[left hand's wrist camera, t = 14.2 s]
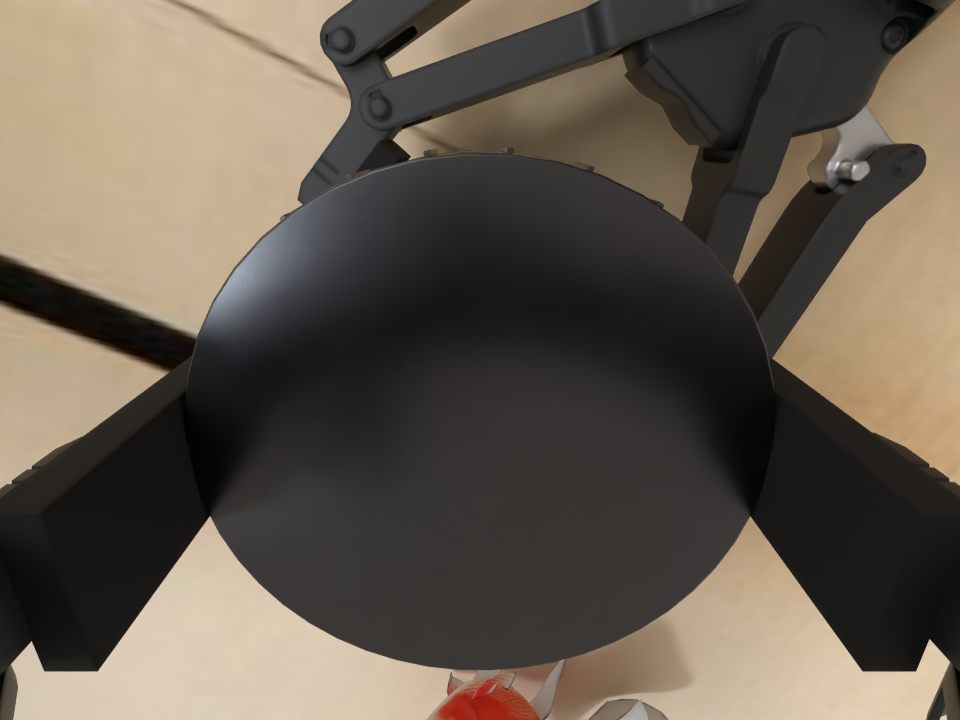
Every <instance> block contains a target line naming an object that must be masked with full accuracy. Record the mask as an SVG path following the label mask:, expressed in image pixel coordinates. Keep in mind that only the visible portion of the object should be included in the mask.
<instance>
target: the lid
mask: <svg viewBox="0 0 960 720" xmlns="http://www.w3.org/2000/svg"><path fill="white" fill-rule="evenodd" d="M593 170H594V167H592V166H590V165H585V164H581V163H576V162H572V165H568V164H565V163H562V162H559V161H555V160H550V159H546V158H541V157H535V156H529V155H523V154H517V153H514V148H510V147H503V151H460V152H452V153H443V154H438V150H437V149H435V150H428V151H424V157H420V158H416V159H412V160H408V161H405V162H401V163H397V164H393V165H389V166H386V167H382V168H378V169H374V170H371V171H370V169H368V170H364V171H360V172H355V173H351V174H349V175H346V176H345V177H346V179H347V181H345V182H343V183H341V184H338V185H336V186H334V187H331V188H330V189H328V190H326V191H325V192H323V193H321V194H320V195H318V196H316V197H315V198H313V199H312V200H310V201H308V202H307V203H305V204H303V205H302V206H300V207H298V208H297V209H295V210H294V211H292V212H291V213H288V214H285V215H283V216H282V217H281V218H280V220H281V221H280V222H279V223H278V224H277V225H276V226H274V227H273V228H272V229H271V230H270V231H268V232H267V233H266V234H265V235H263V236H262V237H261V238H260V239H259V240H258V242H257V243H256V244H255V245H254V246H253V247H252V248H251V249H250V251H249V252H248V253H247V254H246V255H245V256H244V257H243V259H242V260H241V261H240V262H239V263H238V264H237V265H236V266H235V268H234V269H233V271H232V272H231V274H230V275H229V277H228V278H227V280H226V281H225V283H224V285H223V286H222V288H221V289H220V291H219V292H218V294H217V295H216V297H215V299H214V300H213V302H212V304H211V307H210V309H209V311H208V313H207V316H206V318H205V320H204V322H203V325H202V327H201V329H200V332H199V334H198V337H197V340H196V344H195V348H194V352H193V356H192V359H191V363H190V367H189V371H188V381H187V390H186V400H185V419H186V438H187V444H188V449H189V453H190V458H191V462H192V467H193V471H194V475H195V479H196V483H197V485H198V488H199V491H200V494H201V497H202V499H203V502H204V505H205V507H206V509H207V511H208V513H209V514H210V516H211V518H212V520H213V522H214V524H215V526H216V528H217V530H218V532H219V534H220V535H221V536H222V538H223V539H224V541H225V542H226V544H227V545H228V546H229V548H230V549H231V551H232V552H233V554H234V555H235V557H236V558H237V559H238V561H239V562H240V563H241V564H242V565H243V566H244V567H245V568H246V570H247V571H248V572H249V573H250V574H251V575H252V576H253V577H254V578H255V580H256V581H257V582H258V583H259V584H260V585H261V586H262V587H264V588H265V589H266V590H267V591H268V592H269V593H270V594H272V595H273V596H274V597H275V598H276V599H277V600H278V601H280V602H281V603H282V604H283V605H284V606H286V607H287V608H289V609H290V610H291V611H293V612H294V613H296V614H297V615H299V616H300V617H301V618H303V619H304V620H306V621H307V622H309V623H310V624H312V625H314V626H316V627H318V628H319V629H321V630H323V631H325V632H327V633H328V634H330V635H332V636H334V637H336V638H338V639H340V640H342V641H345V642H347V643H349V644H352V645H354V646H357V647H359V648H361V649H364V650H366V651H369V652H372V653H375V654H379V655H382V656H385V657H388V658H392V659H395V660H399V661H404V662H408V663H413V664H418V665H423V666H428V667H437V668H446V669H455V670H502V669H515V668H525V667H530V666H536V665H542V664H548V663H553V662H557V661H561V660H564V659H568V658H571V657H575V656H579V655H582V654H585V653H588V652H591V651H593V650H596V649H598V648H601V647H604V646H606V645H609V644H611V643H614V642H616V641H618V640H620V639H622V638H624V637H626V636H628V635H630V634H632V633H634V632H636V631H638V630H639V629H641V628H643V627H645V626H646V625H648V624H649V623H651V622H652V621H654V620H655V619H657V618H659V617H660V616H662V615H663V614H665V613H666V612H668V611H669V610H670V609H672V608H673V607H674V606H675V605H677V604H678V603H679V602H680V601H681V600H683V599H684V598H685V597H686V596H688V595H689V594H690V593H691V592H693V591H694V590H695V589H696V588H697V587H698V585H699V584H700V583H701V582H702V581H703V580H704V579H705V578H706V577H707V576H708V575H709V574H710V573H711V572H712V571H713V570H714V569H715V568H716V567H717V565H718V564H719V563H720V561H721V560H722V559H723V558H724V556H725V555H726V554H727V552H728V551H729V550H730V548H731V547H732V546H733V544H734V543H735V542H736V540H737V538H738V536H739V535H740V533H741V531H742V529H743V528H744V526H745V524H746V523H747V521H748V519H749V517H750V516H751V514H752V511H753V509H754V506H755V504H756V502H757V499H758V497H759V494H760V492H761V489H762V487H763V484H764V480H765V476H766V471H767V467H768V463H769V459H770V454H771V450H772V445H773V436H774V426H775V401H774V382H773V377H772V373H771V368H770V363H769V358H768V353H767V348H766V345H765V343H764V340H763V337H762V335H761V332H760V329H759V327H758V324H757V321H756V319H755V316H754V313H753V311H752V310H751V308H750V306H749V304H748V303H747V301H746V299H745V297H744V296H743V294H742V292H741V290H740V288H739V287H738V285H737V283H736V281H735V280H734V278H733V277H732V276H731V274H730V273H729V272H728V271H727V269H726V268H725V267H724V266H723V264H722V263H721V262H720V261H719V259H718V258H717V256H716V255H715V253H713V252H712V251H711V249H710V248H709V247H708V246H707V245H706V244H705V243H704V242H703V241H701V240H700V239H699V238H698V237H697V236H696V235H695V234H694V233H693V232H692V231H691V230H690V229H688V228H687V227H686V226H685V225H684V224H683V223H682V222H681V221H680V220H679V219H677V218H676V217H675V216H673V215H672V214H670V213H669V212H667V211H666V210H664V209H663V207H664V205H663V204H662V203H660V202H658V201H655V200H652V199H649V198H646V197H645V196H644V195H642V194H640V193H638V192H636V191H634V190H632V189H630V188H627V187H625V186H623V185H621V184H619V183H617V182H615V181H613V180H611V179H609V178H607V177H605V176H603V175H600V174H597V173H594V172H593Z"/></svg>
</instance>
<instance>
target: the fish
mask: <svg viewBox="0 0 960 720" xmlns="http://www.w3.org/2000/svg"><path fill="white" fill-rule="evenodd" d="M564 663H565V659H564V660H561V661H560V662H559V663H558V664H557V666H556V667H555V668H554V670H553V671H552V672H551V673H550V675H549V676H548V678H547V679H546V681H545V683H544V684H543V686H542V688H541V690H540V691H539V693H538V695H537V696H536V698H535V699H534V700H533V701H532V702H530V703H529V702H528V701H527V700H526V699H525V698H524V697H523V696H522V695H521V694H520V693H519V692H518V691H516V690H515V689H514V688H512V687H511V685H512V683H513V680H514V678H515V675H516V673H515V672H513V673H507V674H501V672H502V670H478V672H477V675H476V677H475V678H474V680H473V681H470V682H467V683H463V682H461V681H460V680H458V679H456V678H454V677H452V672H451V674H450V679H449V683H448V688H447V694H448V697H447V698H446V699H445V700H444V701H443V702H442V703H441V704H440V705H439V706H438V707H437V708H436V709H435V710H434V711H433V713H432V714H431V715H430V716H429V717H428V719H427V720H545V719H546V718H547V717H548V715H549V714H550V712H551V710H552V706H553V703H554V699H555V695H556V691H557V687H558V683H559V679H560V676H561V673H562V669H563V666H564ZM500 674H501V675H500ZM589 720H668V719H667V718H666V716H665V715H664V714H663V713H662V712H660V711H659V710H657V709H655V708H654V707H652V706H650V705H648V704H646V703H644V702H642V701H641V699H640V700H635V699H620V700H614V701H607V702H606V703H605V704H604V705H603V706H602V707H601V708H600V709H599V710H598V711H597V712H596V713H595V714H594V715H593V716H592V717H591V718H590V719H589Z"/></svg>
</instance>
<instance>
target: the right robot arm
mask: <svg viewBox="0 0 960 720" xmlns="http://www.w3.org/2000/svg"><path fill="white" fill-rule="evenodd" d="M469 1H471V0H353V1H351V2H350V3H349V4H347V5H346V6H345V7H343V8H342V9H341V10H339V11H338V12H337V13H335V14H334V15H333V16H331V17H330V18H329V19H328V20H327V21H326V22H325V23H324V24H323V26H322V29H321V33H320V44H321V47H322V49H323V51H324V53H325V55H326V56H327V57H328V58H329V59H330V60H331V61H332V62H333V64H334V66H335V67H336V69H337V71H338V73H339V74H340V76H341V78H342V80H343V81H344V83H345V85H346V87H347V89H348V91H349V94H350V98H351V110H350V114H349V116H348V118H347V120H346V122H345V123H344V124H343V126H342V127H341V129H340V130H339V131H338V133H337V134H336V135H335V137H334V138H333V140H332V141H331V142H330V144H329V145H328V146H327V148H326V149H325V151H324V152H323V153H322V155H321V157H320V158H319V159H318V160H317V162H316V163H315V164H314V166H313V168H312V169H311V170H310V171H309V173H308V174H307V176H306V177H305V178H304V180H303V181H302V182H301V186H300V191H299V195H298V201H300V202H301V203H302V204H305V203H307V202H308V201H310V200H312V199H313V198H315V197H316V196H318V195H320V194H321V193H323V192H325V191H326V190H328V189H330V188H331V187H334V186H336V185H338V184H341V183H343V182H345V181H347V179H346V177H345V176H346V175H349V174H351V173H355V172H360V171H364V170H368V169H370V171H371V170H374V169H378V168H382V167H386V166H389V165H393V164H397V163H401V162H405V161H408V160H409V158H410V157H411V156H410V155H409V154H408V153H406V152H405V151H404V150H403V149H402V148H401V147H400V146H399V145H398V144H396V143H395V142H394V141H392V140H393V139H394V137H395V136H396V135H397V134H398V132H401V130H403V129H406V128H409V127H411V126H414V125H417V124H420V123H423V122H426V121H429V120H432V119H434V118H437V117H440V116H443V115H446V114H449V113H452V112H454V111H457V110H460V109H463V108H466V107H469V106H472V105H475V104H477V103H480V102H483V101H486V100H489V99H492V98H495V97H497V96H500V95H503V94H506V93H509V92H512V91H515V90H518V89H520V88H523V87H526V86H529V85H532V84H535V83H538V82H541V81H543V80H546V79H549V78H552V77H555V76H558V75H561V74H563V73H566V72H569V71H572V70H575V69H578V68H582V67H586V66H589V65H592V64H595V63H598V62H601V61H604V60H607V59H610V58H612V57H615V56H618V55H621V54H623V59H624V63H625V66H626V68H627V70H628V72H627V73H626V74H625V75H624V76H625V77H626V78H627V79H628V80H629V81H630V82H631V83H632V84H633V85H634V86H635V87H636V88H637V90H638V91H639V92H640V93H642V94H643V95H645V96H647V97H648V98H650V99H652V100H654V101H655V102H657V103H659V104H660V105H662V107H663V108H664V110H665V112H666V114H667V116H668V118H669V120H670V122H671V124H672V127H673V128H674V130H675V131H676V132H677V133H678V134H679V135H680V136H681V137H682V138H683V139H684V140H685V141H686V142H687V144H688V145H698V146H699V151H698V154H697V157H696V161H695V164H694V167H693V171H692V176H691V181H692V191H691V195H690V198H689V201H688V205H687V208H686V211H685V214H684V217H683V221H682V223H683V224H684V225H685V226H686V227H687V228H688V229H690V230H691V231H692V232H693V233H694V234H695V235H696V236H697V237H698V238H699V239H700V240H701V241H703V242H704V243H705V244H706V245H707V246H708V247H709V248H710V249H711V251H712V252H713V253H715V255H716V256H717V258H718V259H719V261H720V262H721V263H722V264H723V266H724V267H725V268H726V269H727V271H728V272H729V273H730V274H731V276H733V274H734V271H735V268H736V265H737V262H738V260H739V257H740V254H741V251H742V248H743V246H744V243H745V240H746V237H747V234H748V231H749V229H750V226H751V223H752V220H753V217H754V215H755V212H756V209H757V206H758V204H759V202H760V201H761V199H762V198H763V197H765V196H766V195H767V194H768V193H769V192H770V190H771V189H772V187H773V185H774V183H775V180H776V178H777V175H778V172H779V169H780V166H781V164H782V161H783V158H784V155H785V153H786V150H787V147H788V144H789V142H790V139H791V138H792V137H796V136H801V135H805V134H809V133H813V132H818V131H821V133H822V136H823V144H822V148H821V150H820V152H819V154H818V155H817V156H816V158H815V159H814V160H812V161H811V162H810V163H809V165H808V167H807V173H808V175H809V176H810V180H809V181H808V182H807V183H806V184H805V185H804V186H803V187H802V189H801V190H800V191H799V192H798V193H797V194H796V196H795V197H794V198H793V199H792V201H791V202H790V203H789V205H788V206H787V208H786V209H785V211H784V212H783V214H782V215H781V217H780V219H779V220H778V222H777V223H776V225H775V226H774V228H773V230H772V231H771V233H770V234H769V236H768V238H767V239H766V241H765V242H764V244H763V245H762V247H761V249H760V250H759V252H758V253H757V255H756V257H755V258H754V260H753V261H752V263H751V265H750V266H749V268H748V269H747V271H746V272H745V274H744V276H743V277H742V279H741V280H740V282H739V284H738V287H739V288H740V290H741V292H742V294H743V296H744V297H745V299H746V301H747V303H748V304H749V306H750V308H751V310H752V311H753V313H754V316H755V319H756V321H757V324H758V327H759V329H760V332H761V335H762V337H763V340H764V343H765V345H766V348H767V353H768V356H769V357H771V358H773V356H774V355H775V353H776V352H777V350H778V349H779V348H780V346H781V345H782V343H783V342H784V340H785V339H786V337H787V336H788V334H789V333H790V332H791V330H792V329H793V327H794V326H795V324H796V323H797V321H798V320H799V319H800V317H801V316H802V314H803V313H804V311H805V310H806V308H807V307H808V305H809V304H810V303H811V301H812V300H813V298H814V297H815V295H816V294H817V292H818V291H819V290H820V288H821V287H822V285H823V284H824V282H825V281H826V279H827V278H828V276H829V275H830V274H831V272H832V271H833V269H834V268H835V266H836V265H837V263H838V262H839V261H840V259H841V258H842V256H843V255H844V253H845V252H846V250H847V249H848V247H849V246H850V245H851V243H852V242H853V240H854V239H855V237H856V236H857V234H858V233H859V232H860V230H861V229H862V227H863V226H864V224H865V223H866V221H867V220H869V219H870V218H871V217H872V216H873V215H875V214H876V213H877V212H878V211H879V210H881V209H882V208H883V207H884V206H885V205H887V204H888V203H889V202H890V201H891V200H893V199H894V198H895V197H896V196H897V195H899V194H900V193H901V192H902V191H903V190H905V189H906V188H907V187H908V186H909V185H910V184H912V183H913V182H914V181H915V180H916V179H917V178H918V177H919V176H920V175H921V174H922V172H923V170H924V167H925V165H926V155H925V152H924V150H923V149H922V148H921V147H920V146H919V145H915V144H896V143H894V142H893V141H892V140H891V139H890V137H889V136H888V134H887V133H886V132H885V130H884V129H883V127H882V126H881V124H880V123H879V122H878V120H877V119H876V117H875V116H874V114H873V113H872V112H871V110H870V109H869V107H868V106H867V105H866V104H867V103H868V101H869V99H870V98H871V96H872V94H873V91H874V89H875V87H876V84H877V82H878V80H879V78H880V76H881V74H882V72H883V71H884V69H885V67H886V66H887V65H888V63H889V62H890V60H891V59H892V58H893V57H894V56H895V55H896V54H897V53H898V52H899V51H900V50H901V49H902V48H903V47H905V46H906V45H907V44H908V43H909V42H910V41H912V40H913V39H914V38H915V37H916V36H918V35H919V34H920V33H921V32H922V31H923V30H924V29H926V28H927V27H928V26H929V25H930V24H931V23H932V22H933V21H935V20H936V19H937V18H938V17H939V16H940V15H941V14H942V13H943V12H944V11H945V10H946V9H947V8H948V7H949V6H950V5H951V4H952V3H953V2H954V1H955V0H599V1H597V2H595V3H593V4H592V5H590V6H588V7H586V8H584V9H582V10H579V11H576V12H574V13H571V14H568V15H565V16H562V17H560V18H557V19H554V20H551V21H549V22H546V23H543V24H540V25H537V26H535V27H532V28H529V29H526V30H524V31H521V32H518V33H515V34H512V35H510V36H507V37H504V38H501V39H499V40H496V41H493V42H490V43H488V44H485V45H482V46H479V47H476V48H474V49H471V50H468V51H465V52H463V53H460V54H457V55H454V56H451V57H449V58H446V59H443V60H440V61H438V62H435V63H432V64H429V65H427V66H424V67H421V68H418V69H415V70H413V71H410V72H407V73H404V74H402V75H399V76H396V77H392V75H391V73H390V71H389V69H388V67H387V66H386V64H385V61H387V60H388V59H390V58H391V57H392V56H394V55H395V54H397V53H398V52H399V51H401V50H402V49H404V48H405V47H406V46H408V45H409V44H411V43H412V42H413V41H415V40H416V39H418V38H419V37H420V36H422V35H423V34H425V33H426V32H427V31H429V30H430V29H432V28H433V27H434V26H436V25H437V24H439V23H440V22H441V21H443V20H444V19H446V18H447V17H448V16H450V15H451V14H453V13H454V12H455V11H457V10H458V9H460V8H461V7H462V6H464V5H465V4H467V3H468V2H469Z"/></svg>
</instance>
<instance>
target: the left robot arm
mask: <svg viewBox="0 0 960 720" xmlns="http://www.w3.org/2000/svg"><path fill="white" fill-rule="evenodd" d="M192 356H193V355H192ZM192 356H191V357H190V358H188V359H187V360H186V361H184V362H183V363H182V364H180V365H179V366H178V367H176V368H175V369H174V370H172V371H171V372H170V373H168V374H167V375H165V376H164V377H163V378H161V379H160V380H159V381H157V382H156V383H155V384H153V385H152V386H151V387H149V388H148V389H147V390H145V391H144V392H143V393H141V394H140V395H139V396H137V397H136V398H134V399H133V400H132V401H130V402H129V403H128V404H126V405H125V406H124V407H122V408H121V409H120V410H118V411H117V412H116V413H114V414H113V415H112V416H110V417H109V418H107V419H106V420H105V421H103V422H102V423H101V424H99V425H98V426H97V427H95V428H94V429H93V430H91V431H90V432H89V433H87V434H86V435H85V436H83V437H80V438H78V439H76V440H74V441H72V442H70V443H68V444H65V445H63V446H61V447H59V448H57V449H55V450H54V451H52V452H51V453H49V454H48V455H47V456H45V457H44V458H43V459H41V460H40V461H38V462H37V463H36V464H34V465H33V466H32V469H31V470H26V471H25V472H23V473H22V474H20V475H19V476H18V477H16V478H15V479H13V480H12V484H7V485H5V486H4V487H2V488H1V489H0V720H13V717H14V710H15V703H16V697H17V690H18V685H17V679H16V675H15V673H14V671H13V668H12V666H11V663H12V662H13V661H14V660H15V659H16V658H17V657H18V656H19V654H20V653H21V652H22V651H23V650H24V649H25V648H26V647H27V646H28V644H29V643H30V642H31V641H32V643H33V645H34V647H35V650H36V652H37V655H38V657H39V659H40V662H41V664H42V667H43V669H44V671H98V670H99V669H100V667H101V666H102V665H103V663H104V662H105V660H106V659H107V658H108V656H109V655H110V654H111V652H112V651H113V649H114V648H115V647H116V645H117V644H118V642H119V641H120V640H121V638H122V637H123V636H124V634H125V633H126V631H127V630H128V629H129V627H130V626H131V624H132V623H133V622H134V620H135V619H136V618H137V616H138V615H139V613H140V612H141V611H142V609H143V608H144V606H145V605H146V604H147V602H148V601H149V600H150V598H151V597H152V595H153V594H154V593H155V591H156V590H157V588H158V587H159V586H160V584H161V583H162V582H163V580H164V579H165V577H166V576H167V575H168V573H169V572H170V571H171V569H172V568H173V566H174V565H175V564H176V562H177V561H178V559H179V558H180V557H181V555H182V554H183V553H184V551H185V550H186V548H187V547H188V546H189V544H190V543H191V541H192V540H193V539H194V537H195V536H196V535H197V533H198V532H199V530H200V529H201V528H202V526H203V525H204V523H205V522H206V521H207V519H208V518H209V517H210V514H209V513H208V511H207V509H206V507H205V505H204V502H203V499H202V497H201V494H200V491H199V488H198V485H197V483H196V479H195V475H194V471H193V467H192V462H191V458H190V453H189V449H188V444H187V438H186V419H185V400H186V390H187V381H188V371H189V367H190V363H191V359H192ZM768 358H769V363H770V368H771V373H772V377H773V382H774V401H775V426H774V436H773V445H772V450H771V454H770V459H769V463H768V467H767V471H766V476H765V480H764V484H763V487H762V489H761V492H760V494H759V497H758V499H757V502H756V504H755V506H754V509H753V511H752V514H751V517H752V519H753V520H754V522H755V523H756V524H757V526H758V527H759V529H760V530H761V531H762V533H763V534H764V535H765V537H766V538H767V540H768V541H769V542H770V544H771V545H772V547H773V548H774V549H775V551H776V552H777V553H778V555H779V556H780V558H781V559H782V560H783V562H784V563H785V565H786V566H787V567H788V569H789V570H790V571H791V573H792V574H793V576H794V577H795V578H796V580H797V581H798V583H799V584H800V585H801V587H802V588H803V589H804V591H805V592H806V594H807V595H808V596H809V598H810V599H811V601H812V602H813V603H814V605H815V606H816V607H817V609H818V610H819V612H820V613H821V614H822V616H823V617H824V619H825V620H826V621H827V623H828V624H829V625H830V627H831V628H832V630H833V631H834V632H835V634H836V635H837V637H838V638H839V639H840V641H841V642H842V643H843V645H844V646H845V648H846V649H847V650H848V652H849V653H850V654H851V656H852V657H853V659H854V660H855V661H856V663H857V664H858V666H859V667H860V668H861V670H862V671H916V670H917V668H918V665H919V663H920V660H921V658H922V656H923V653H924V651H925V648H926V646H927V644H928V641H929V639H930V640H931V641H932V642H933V643H934V644H935V645H936V646H937V647H938V649H939V650H940V651H941V652H942V653H943V654H944V655H945V656H946V657H947V659H948V660H949V661H950V664H949V666H948V668H947V671H946V673H945V675H944V677H943V680H942V682H941V684H940V686H939V689H938V691H937V693H936V695H935V698H934V700H933V702H932V704H931V707H930V709H929V711H928V714H927V719H926V720H940V717H941V716H944V715H947V720H960V486H959V485H958V484H956V483H955V482H950V481H949V478H948V477H947V476H945V475H944V474H942V473H941V472H940V471H938V470H937V469H935V468H930V467H929V464H928V463H927V462H926V461H924V460H923V459H921V458H920V457H919V456H917V455H916V454H914V453H913V452H912V451H910V450H909V449H907V448H906V447H904V446H902V445H900V444H898V443H896V442H893V441H891V440H889V439H887V438H885V437H883V436H880V435H878V434H876V433H872V432H870V431H869V430H868V429H866V428H865V427H864V426H862V425H861V424H860V423H858V422H857V421H856V420H854V419H853V418H852V417H850V416H849V415H847V414H846V413H845V412H843V411H842V410H841V409H839V408H838V407H837V406H835V405H834V404H833V403H831V402H830V401H829V400H827V399H826V398H825V397H823V396H822V395H820V394H819V393H818V392H816V391H815V390H814V389H812V388H811V387H810V386H808V385H807V384H806V383H804V382H803V381H802V380H800V379H799V378H798V377H796V376H795V375H794V374H792V373H791V372H789V371H788V370H787V369H785V368H784V367H783V366H781V365H780V364H779V363H777V362H776V361H775V360H773V359H772V358H771V357H769V356H768Z"/></svg>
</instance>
